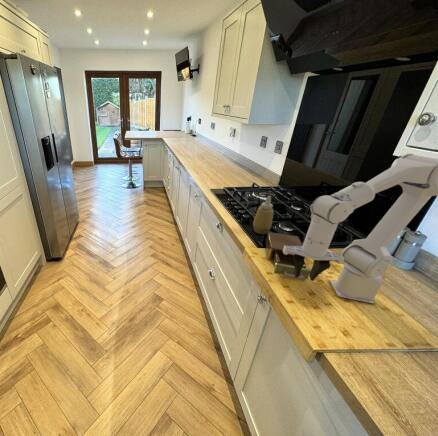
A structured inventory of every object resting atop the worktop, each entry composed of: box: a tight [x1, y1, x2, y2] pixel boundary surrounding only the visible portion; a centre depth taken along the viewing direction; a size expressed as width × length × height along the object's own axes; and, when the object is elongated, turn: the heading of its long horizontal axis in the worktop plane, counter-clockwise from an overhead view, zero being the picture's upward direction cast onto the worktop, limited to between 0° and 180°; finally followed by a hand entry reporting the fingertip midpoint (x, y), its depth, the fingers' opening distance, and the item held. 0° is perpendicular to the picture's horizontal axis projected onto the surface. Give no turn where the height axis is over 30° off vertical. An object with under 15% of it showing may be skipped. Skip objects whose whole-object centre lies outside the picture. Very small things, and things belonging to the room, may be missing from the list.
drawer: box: [273, 250, 311, 282], centre depth 85 cm, size 17×10×4 cm, turn 161°
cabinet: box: [264, 231, 306, 262], centre depth 96 cm, size 14×12×6 cm
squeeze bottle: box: [252, 195, 275, 235], centre depth 109 cm, size 8×8×18 cm
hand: (303, 277), depth 71 cm, fingers open, 3 cm apart
